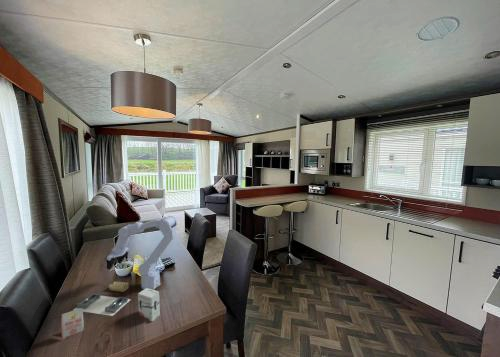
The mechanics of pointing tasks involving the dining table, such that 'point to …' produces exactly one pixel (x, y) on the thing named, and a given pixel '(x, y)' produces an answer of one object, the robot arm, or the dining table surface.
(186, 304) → the dining table surface
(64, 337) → the tea bag
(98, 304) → the board
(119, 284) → the brass block
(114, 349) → the dining table surface
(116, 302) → the chain ends
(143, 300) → the ink box
